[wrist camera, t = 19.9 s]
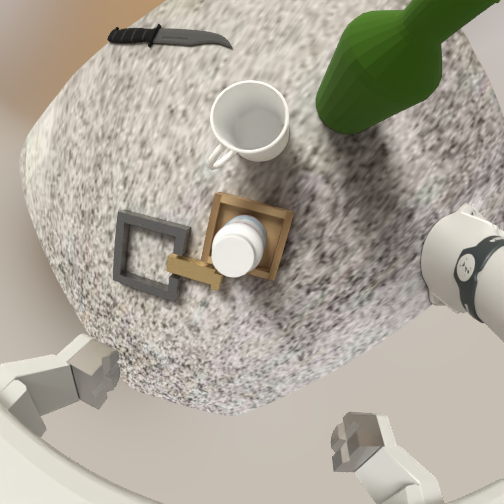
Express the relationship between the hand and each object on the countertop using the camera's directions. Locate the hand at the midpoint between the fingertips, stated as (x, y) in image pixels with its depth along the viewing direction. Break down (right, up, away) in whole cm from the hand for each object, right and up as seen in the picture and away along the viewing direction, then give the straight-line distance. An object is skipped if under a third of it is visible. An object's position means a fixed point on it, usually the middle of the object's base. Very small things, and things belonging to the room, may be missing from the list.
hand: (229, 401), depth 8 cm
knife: (-14, +41, +25) cm, 50 cm away
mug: (+1, +21, +29) cm, 36 cm away
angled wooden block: (-8, +2, +35) cm, 36 cm away
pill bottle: (0, +7, +31) cm, 32 cm away
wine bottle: (+14, +26, +26) cm, 39 cm away
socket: (-16, +5, +35) cm, 39 cm away
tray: (0, +8, +32) cm, 33 cm away
